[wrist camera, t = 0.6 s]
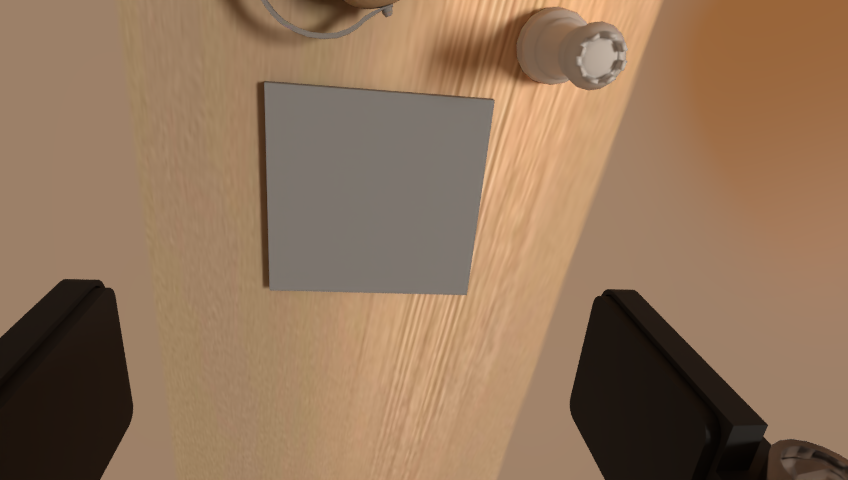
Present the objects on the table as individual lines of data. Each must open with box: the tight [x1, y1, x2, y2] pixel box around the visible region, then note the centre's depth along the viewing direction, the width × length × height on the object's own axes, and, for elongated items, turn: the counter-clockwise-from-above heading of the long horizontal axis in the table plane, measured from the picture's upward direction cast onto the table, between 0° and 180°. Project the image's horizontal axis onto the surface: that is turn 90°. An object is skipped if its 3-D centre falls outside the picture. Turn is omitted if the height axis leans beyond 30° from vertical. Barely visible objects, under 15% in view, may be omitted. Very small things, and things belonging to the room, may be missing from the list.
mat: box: [264, 81, 495, 295], centre depth 36 cm, size 14×14×1 cm
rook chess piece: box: [517, 7, 628, 90], centre depth 30 cm, size 4×4×8 cm
